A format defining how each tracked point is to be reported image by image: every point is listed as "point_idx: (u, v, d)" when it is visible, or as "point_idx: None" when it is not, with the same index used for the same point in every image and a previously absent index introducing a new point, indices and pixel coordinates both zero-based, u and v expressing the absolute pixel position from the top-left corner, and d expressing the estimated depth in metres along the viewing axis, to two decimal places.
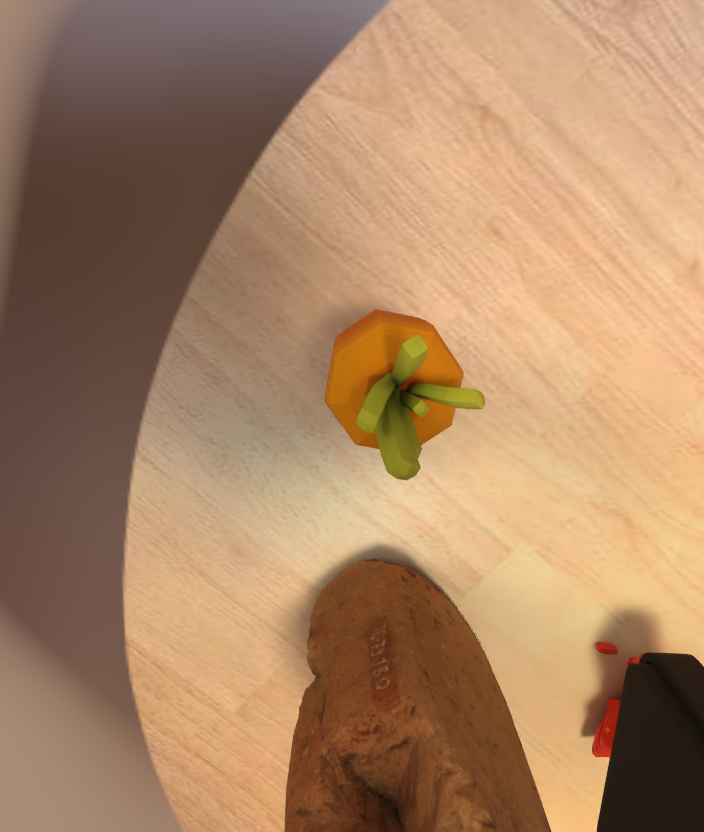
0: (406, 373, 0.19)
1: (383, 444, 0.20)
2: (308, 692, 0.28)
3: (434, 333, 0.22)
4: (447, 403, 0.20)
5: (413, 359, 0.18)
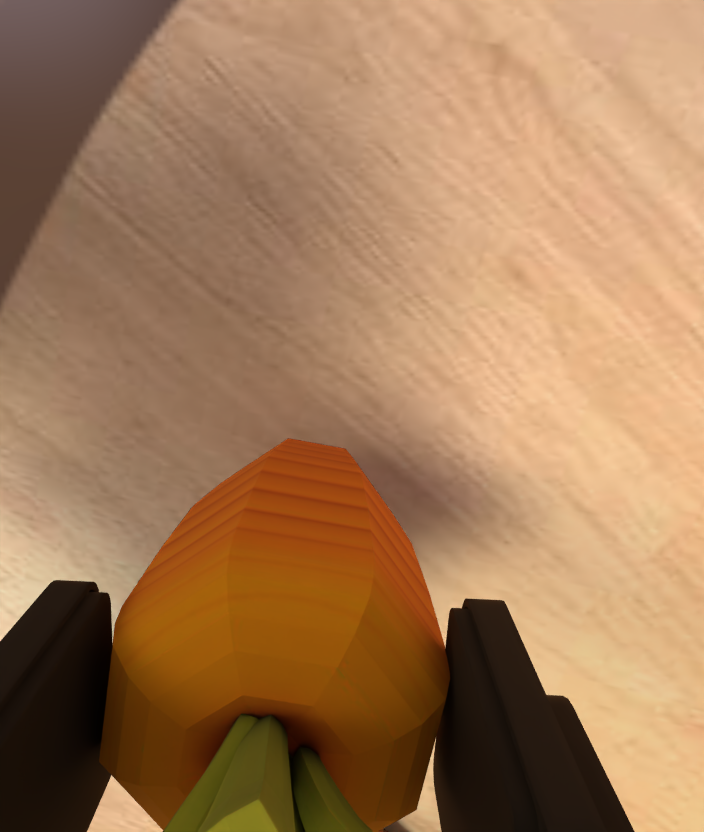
0: None
1: None
2: None
3: (371, 597, 0.08)
4: None
5: None
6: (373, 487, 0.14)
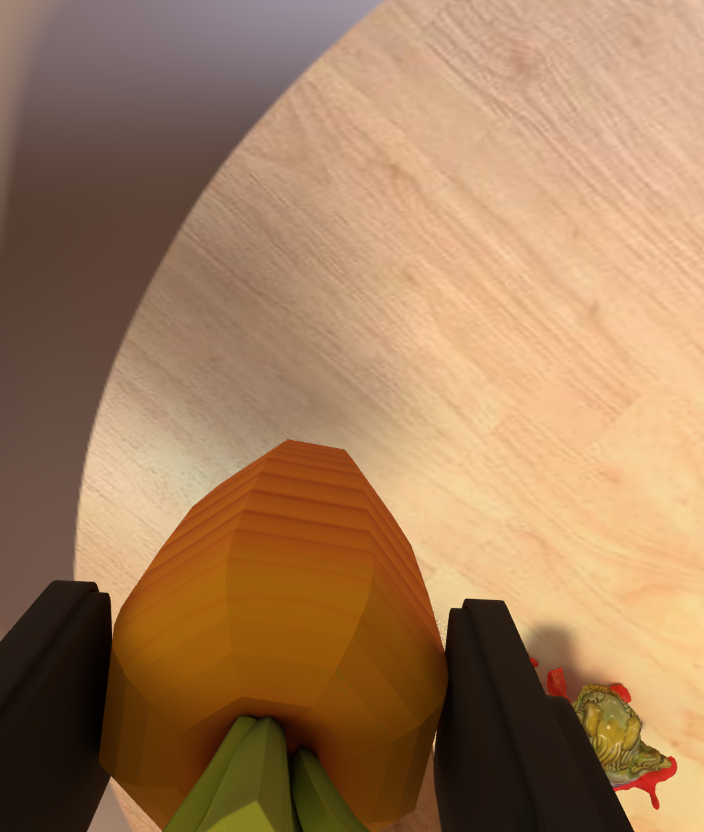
0: None
1: None
2: None
3: (369, 599, 0.08)
4: None
5: None
6: (372, 488, 0.14)
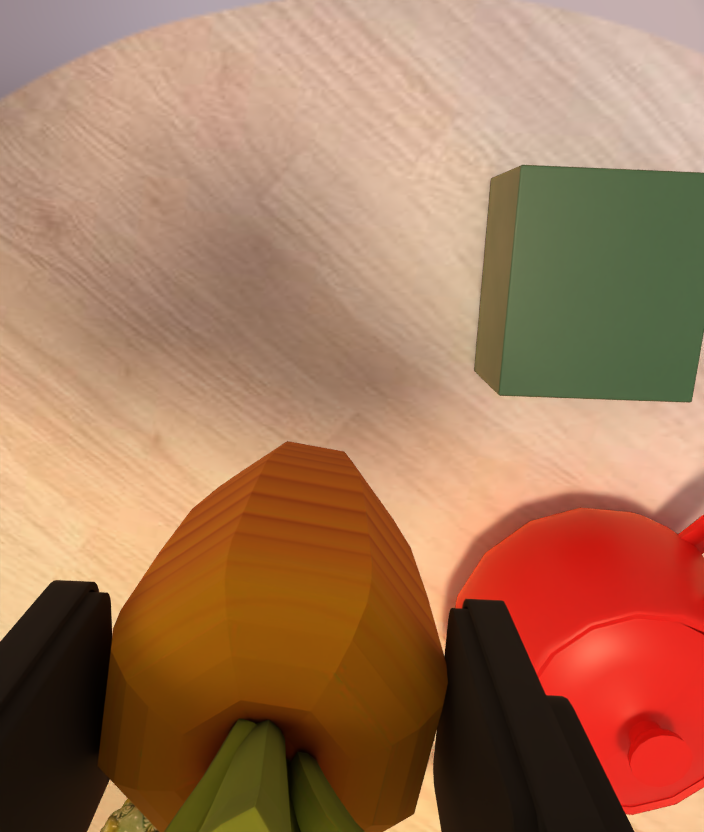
0: None
1: None
2: None
3: (369, 603, 0.08)
4: None
5: None
6: (372, 490, 0.14)
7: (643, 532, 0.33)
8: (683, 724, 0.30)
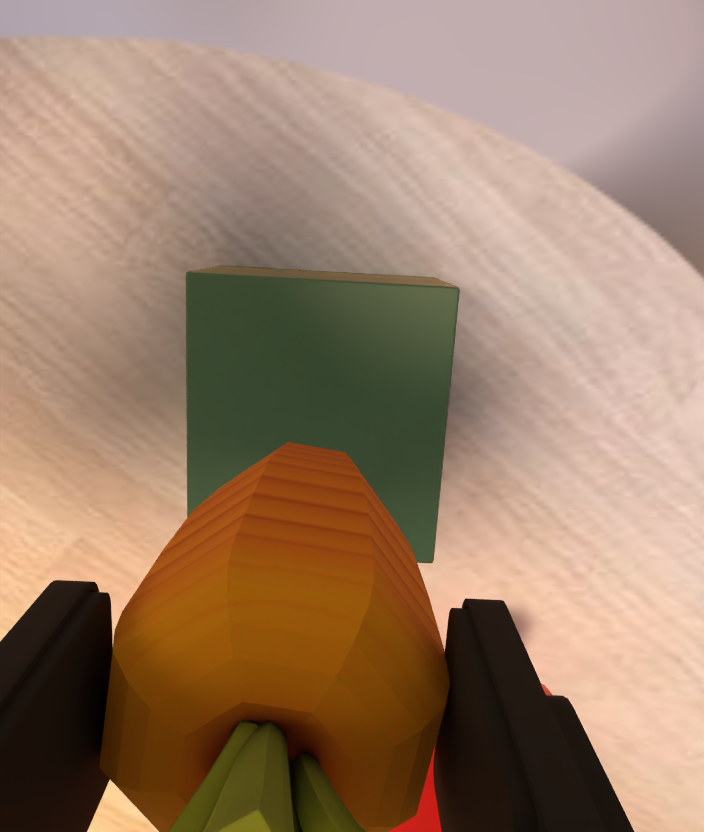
0: None
1: None
2: None
3: (371, 604, 0.08)
4: None
5: None
6: (373, 491, 0.14)
7: None
8: None
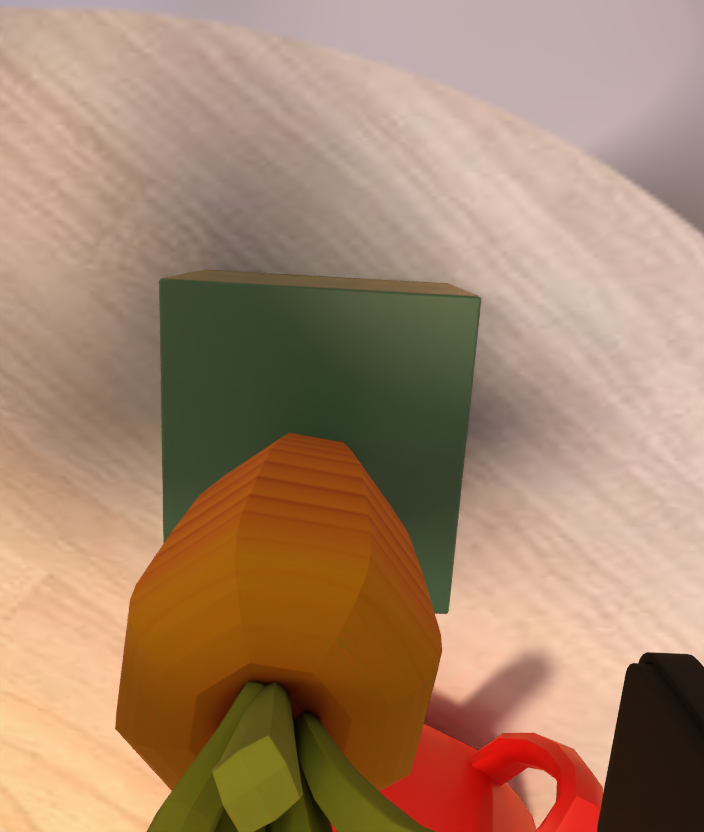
0: None
1: None
2: None
3: (368, 574, 0.09)
4: None
5: None
6: None
7: None
8: None
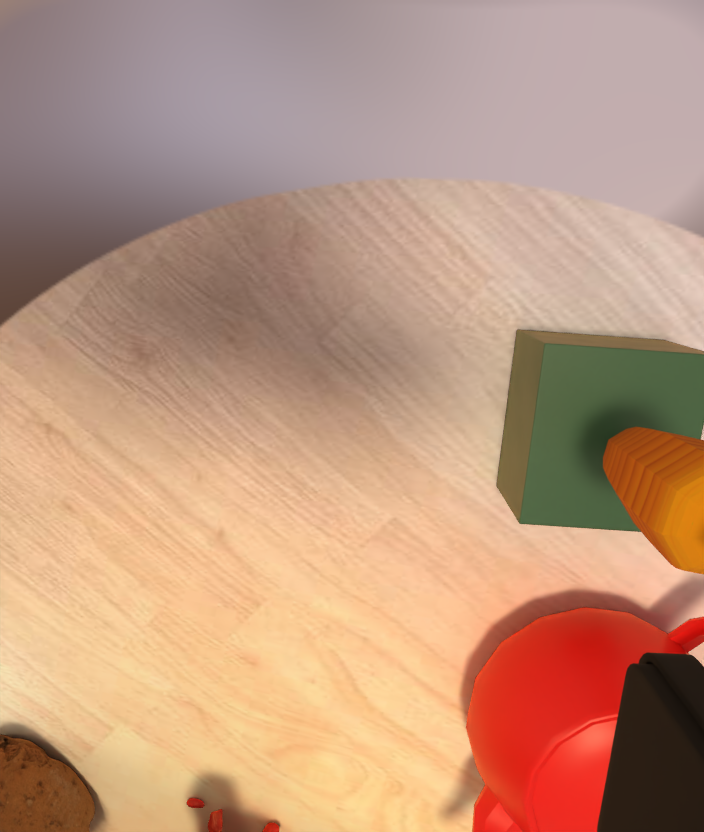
0: None
1: None
2: None
3: None
4: None
5: None
6: None
7: (637, 635, 0.39)
8: None
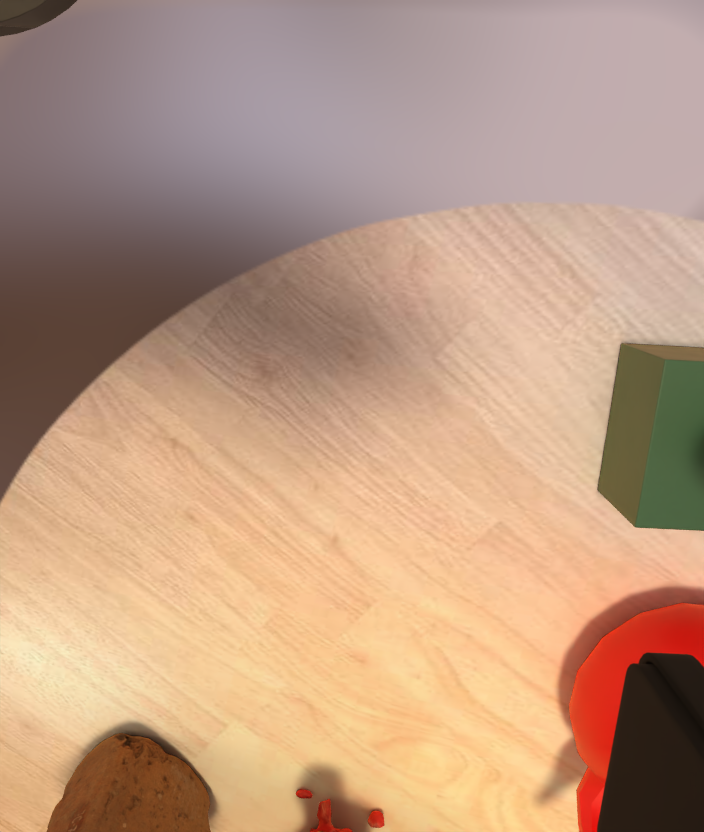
0: None
1: None
2: None
3: None
4: None
5: None
6: None
7: None
8: None
